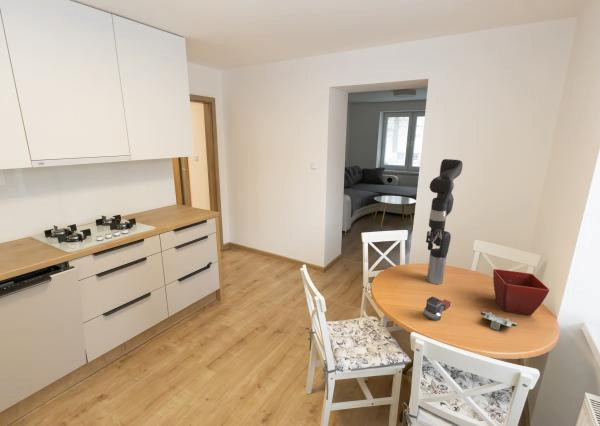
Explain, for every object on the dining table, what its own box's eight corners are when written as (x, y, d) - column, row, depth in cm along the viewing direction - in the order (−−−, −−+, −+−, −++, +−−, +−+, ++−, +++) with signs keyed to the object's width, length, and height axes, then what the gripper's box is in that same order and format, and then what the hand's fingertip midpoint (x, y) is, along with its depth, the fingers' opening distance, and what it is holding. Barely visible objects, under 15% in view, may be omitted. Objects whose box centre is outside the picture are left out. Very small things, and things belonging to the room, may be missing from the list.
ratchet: (439, 302, 163) (441, 292, 161) (454, 308, 157) (456, 298, 155) (420, 315, 150) (421, 304, 149) (435, 322, 145) (437, 311, 143)
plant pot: (526, 300, 166) (532, 273, 162) (542, 320, 148) (550, 290, 144) (487, 295, 171) (492, 268, 167) (499, 313, 153) (505, 284, 149)
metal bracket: (516, 325, 135) (478, 311, 145) (513, 337, 135) (476, 323, 145) (518, 319, 146) (483, 307, 155) (515, 331, 146) (481, 318, 156)
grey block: (430, 306, 153) (432, 296, 151) (440, 311, 149) (441, 300, 147) (425, 310, 150) (426, 299, 148) (435, 314, 146) (436, 304, 144)
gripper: (437, 214, 158) (433, 242, 163) (423, 219, 149) (420, 249, 154) (451, 217, 153) (447, 246, 157) (438, 222, 144) (434, 253, 148)
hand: (433, 247), depth 155 cm, fingers open, 8 cm apart
